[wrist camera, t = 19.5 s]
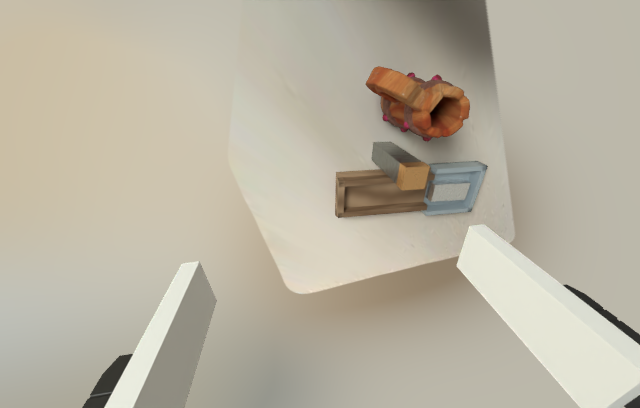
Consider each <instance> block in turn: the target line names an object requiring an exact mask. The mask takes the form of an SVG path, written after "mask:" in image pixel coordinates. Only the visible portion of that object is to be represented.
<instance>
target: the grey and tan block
mask: <svg viewBox="0 0 640 408" xmlns="http://www.w3.org/2000/svg"><path fill="white" fill-rule="evenodd" d="M372 161H373V162H374V163H375V164H376V165H377V166H378V167H379V168H380V169H381V170H382V171H383V172H384V173H385V174H386V175H387V176H388V177H389V178H390V179H391V180H392V181H393V182H394V183H395V184H396V185H397V186H398V187H399V188H400V189H401V190H416V189H424V188H425V184H426V180H427V176H428V172H429V168H430V166H429V165H427V164H425V163H424V162H421V161H420V160H418V159H417V158H415V157H414V156H412V155H411V154H409V153H408V152H406V151H404V150H403V149H401V148H400V147H398V146H397V145H395V144H394V143H392V142H374V143H373V152H372Z"/></svg>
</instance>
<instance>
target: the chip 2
mask: <svg viewBox="0 0 640 408" xmlns="http://www.w3.org/2000/svg"><path fill="white" fill-rule="evenodd" d="M447 180H448V181H450V182H451V183H453V186H452V190H451V193H450V196H449V200H448V201H453V200H465V198H466V195H467V192H468V189H469V186H470V184H471V183H470V182H468V181H467V180H465V179H463V178H460V179H447Z"/></svg>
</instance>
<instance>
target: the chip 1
mask: <svg viewBox="0 0 640 408" xmlns="http://www.w3.org/2000/svg"><path fill="white" fill-rule="evenodd" d="M452 186H453V183H451V182H450V181H448V180H447V179H439V180H431V181H429V182H428V186H427V190H426V194H425V197H426V198H427V199H428V200H430V201H431V202H435V201H448V200H449V196H450V193H451V190H452Z"/></svg>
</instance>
